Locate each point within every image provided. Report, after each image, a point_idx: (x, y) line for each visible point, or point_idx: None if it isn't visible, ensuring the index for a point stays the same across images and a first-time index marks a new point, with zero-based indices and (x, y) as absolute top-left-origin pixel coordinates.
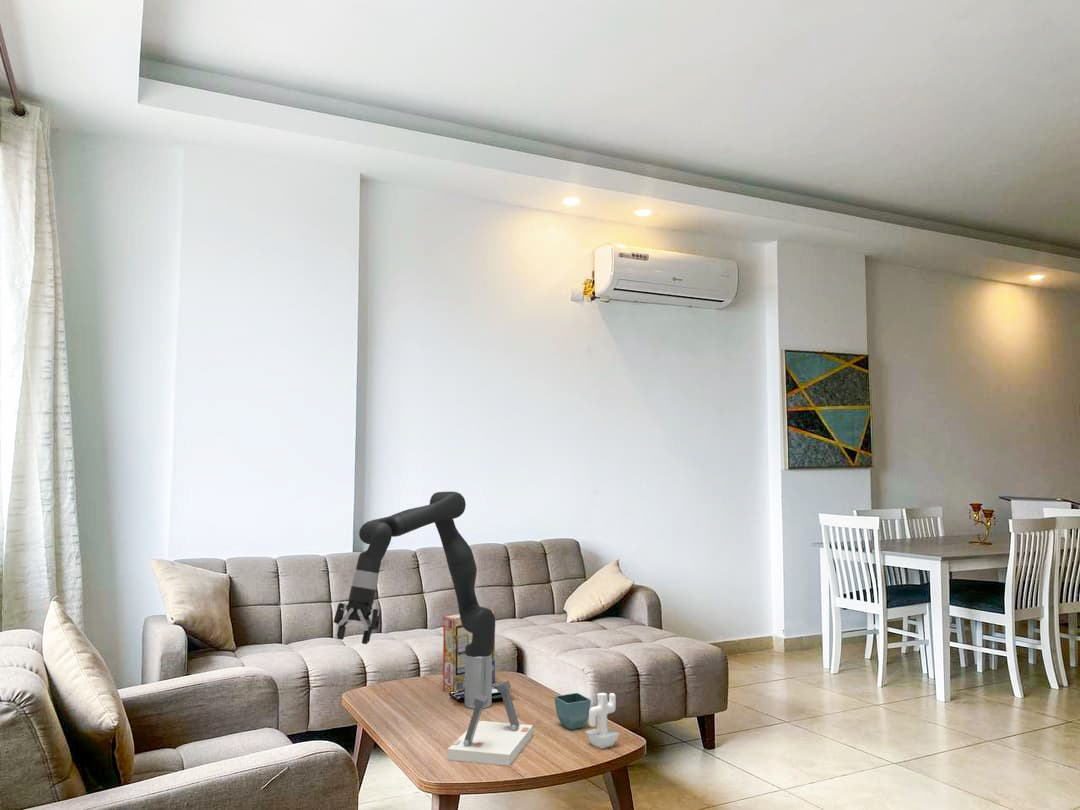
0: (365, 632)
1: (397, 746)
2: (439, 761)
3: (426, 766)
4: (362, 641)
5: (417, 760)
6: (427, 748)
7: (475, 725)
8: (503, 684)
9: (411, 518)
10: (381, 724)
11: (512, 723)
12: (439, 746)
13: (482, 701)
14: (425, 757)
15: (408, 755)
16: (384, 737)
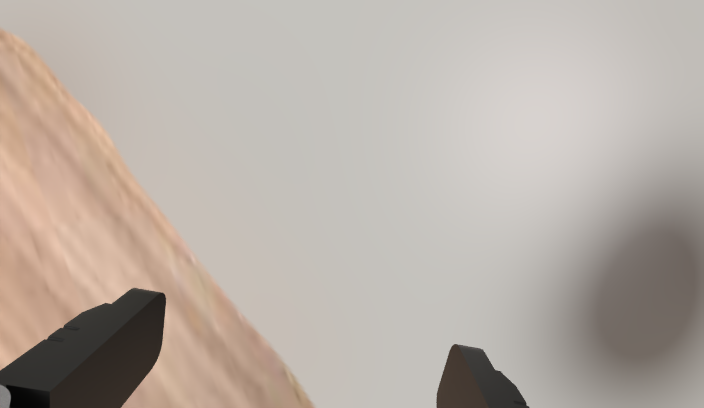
0: (39, 369)
1: (169, 244)
2: (5, 156)
3: (31, 114)
4: (147, 296)
5: (73, 153)
6: (75, 246)
7: None
8: None
9: None
10: (283, 405)
11: None
12: (44, 269)
13: None
14: (57, 178)
15: (112, 184)
16: (233, 304)
